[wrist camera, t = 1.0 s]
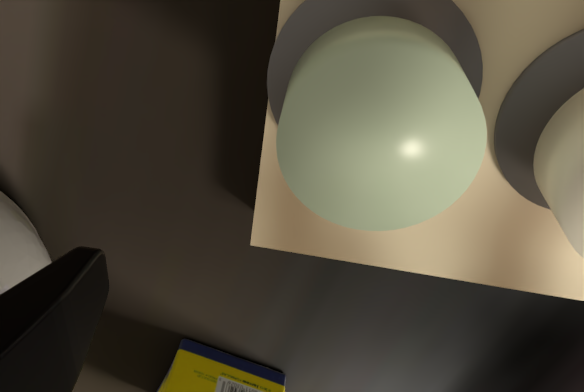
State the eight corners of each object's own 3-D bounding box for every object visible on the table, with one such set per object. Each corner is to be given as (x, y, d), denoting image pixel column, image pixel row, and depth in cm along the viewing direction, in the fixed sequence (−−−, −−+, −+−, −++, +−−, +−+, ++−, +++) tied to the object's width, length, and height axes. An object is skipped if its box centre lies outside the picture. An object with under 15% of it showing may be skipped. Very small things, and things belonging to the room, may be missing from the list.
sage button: (493, 33, 12) (521, 68, 10) (434, 193, 15) (447, 244, 13) (300, 0, 12) (291, 29, 10) (275, 166, 15) (265, 214, 13)
